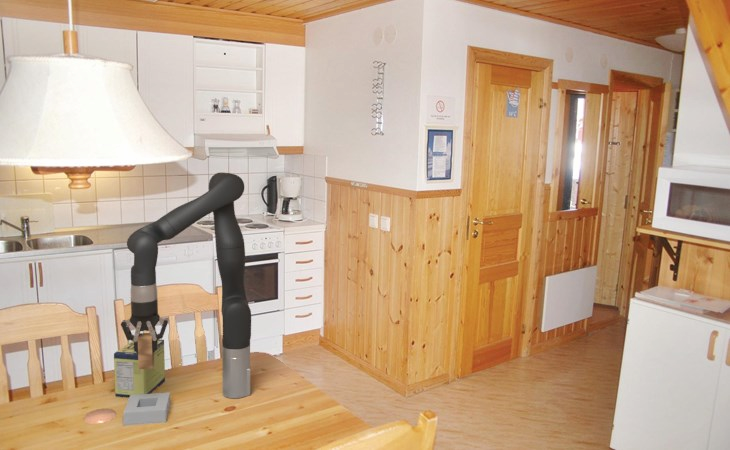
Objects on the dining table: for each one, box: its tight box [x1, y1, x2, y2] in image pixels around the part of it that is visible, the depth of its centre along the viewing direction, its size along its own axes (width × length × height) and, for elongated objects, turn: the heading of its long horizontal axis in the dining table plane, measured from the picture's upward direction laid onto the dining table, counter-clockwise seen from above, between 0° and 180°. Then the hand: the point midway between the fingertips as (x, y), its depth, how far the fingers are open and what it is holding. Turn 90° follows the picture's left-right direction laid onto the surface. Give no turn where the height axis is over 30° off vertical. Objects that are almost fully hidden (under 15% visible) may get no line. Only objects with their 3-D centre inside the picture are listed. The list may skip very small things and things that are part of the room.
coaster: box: [83, 408, 117, 425], centre depth 175 cm, size 9×9×1 cm
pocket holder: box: [122, 392, 171, 427], centre depth 177 cm, size 12×12×4 cm
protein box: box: [113, 339, 166, 399], centre depth 194 cm, size 10×16×16 cm
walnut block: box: [138, 332, 154, 369], centre depth 174 cm, size 4×4×10 cm
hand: (146, 351), depth 174 cm, fingers closed on walnut block, 4 cm apart
